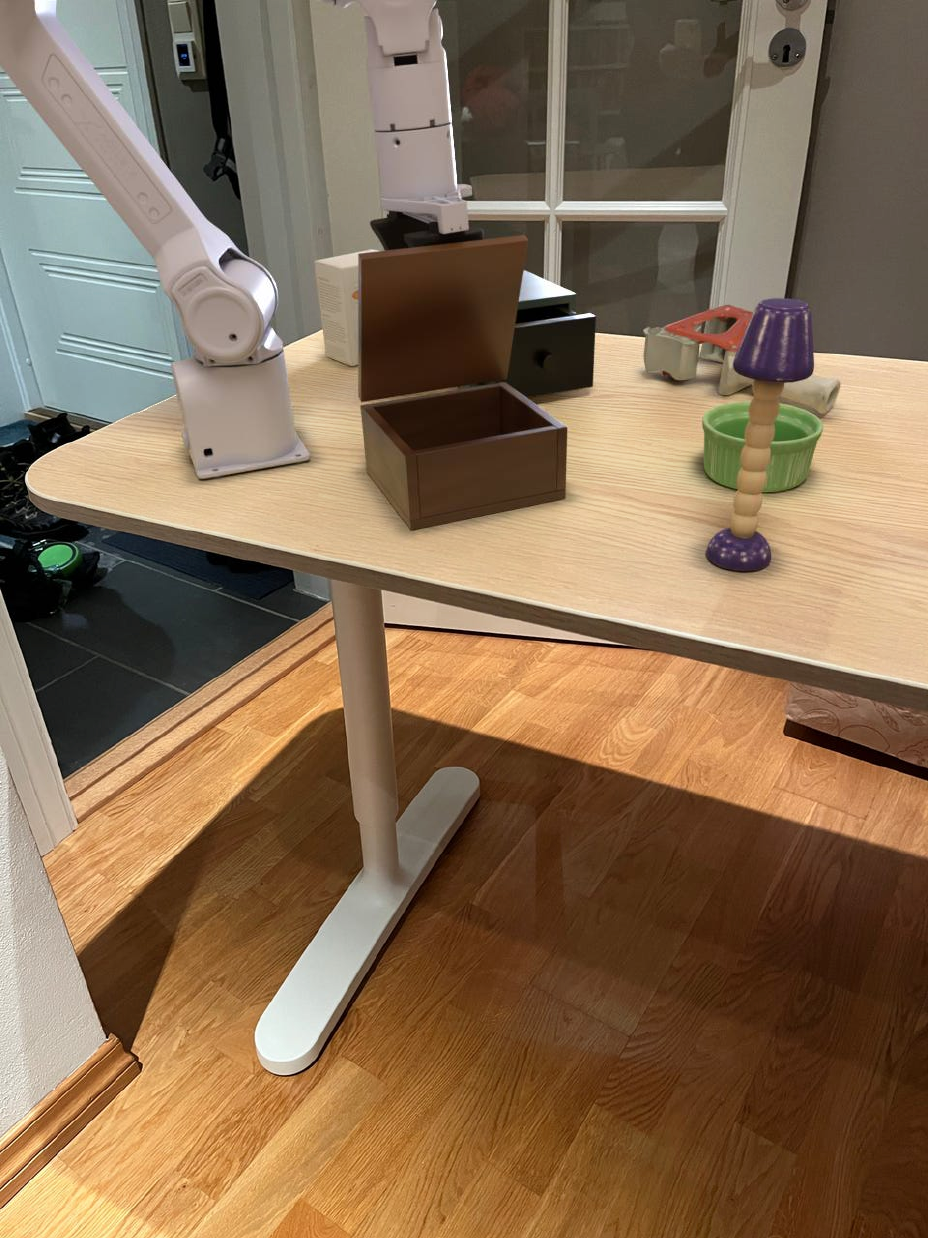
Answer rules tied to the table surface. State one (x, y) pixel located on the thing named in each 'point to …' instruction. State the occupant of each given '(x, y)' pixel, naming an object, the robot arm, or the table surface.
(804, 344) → the toy lamp
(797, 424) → the ramekin
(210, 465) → the robot arm
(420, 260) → the box lid
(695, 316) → the tape dispenser
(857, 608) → the table surface
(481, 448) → the box
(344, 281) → the small box
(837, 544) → the table surface
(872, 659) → the table surface
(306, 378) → the table surface
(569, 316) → the drawer
